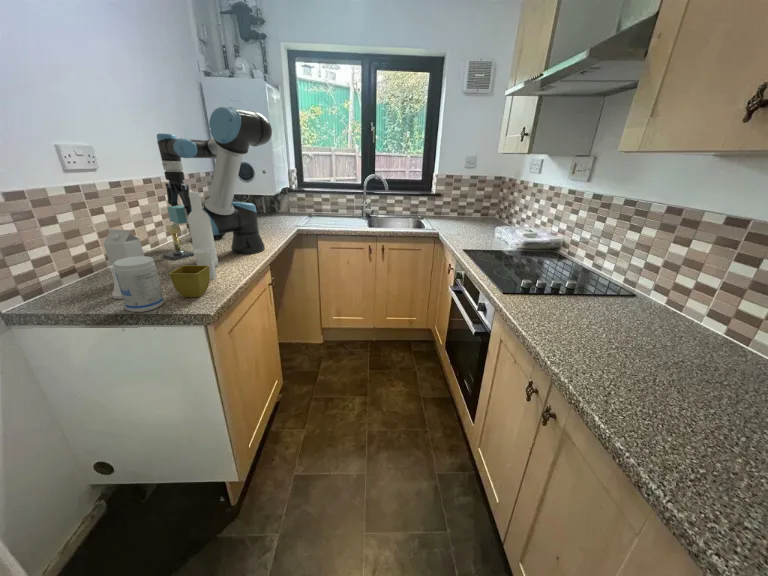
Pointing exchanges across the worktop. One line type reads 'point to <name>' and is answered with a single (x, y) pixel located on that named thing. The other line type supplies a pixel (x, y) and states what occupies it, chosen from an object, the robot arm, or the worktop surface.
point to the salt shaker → (115, 285)
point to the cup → (206, 259)
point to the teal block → (177, 214)
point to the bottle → (200, 226)
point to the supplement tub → (139, 283)
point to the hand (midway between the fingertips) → (184, 220)
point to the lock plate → (178, 254)
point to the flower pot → (191, 280)
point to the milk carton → (122, 245)
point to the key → (175, 235)
